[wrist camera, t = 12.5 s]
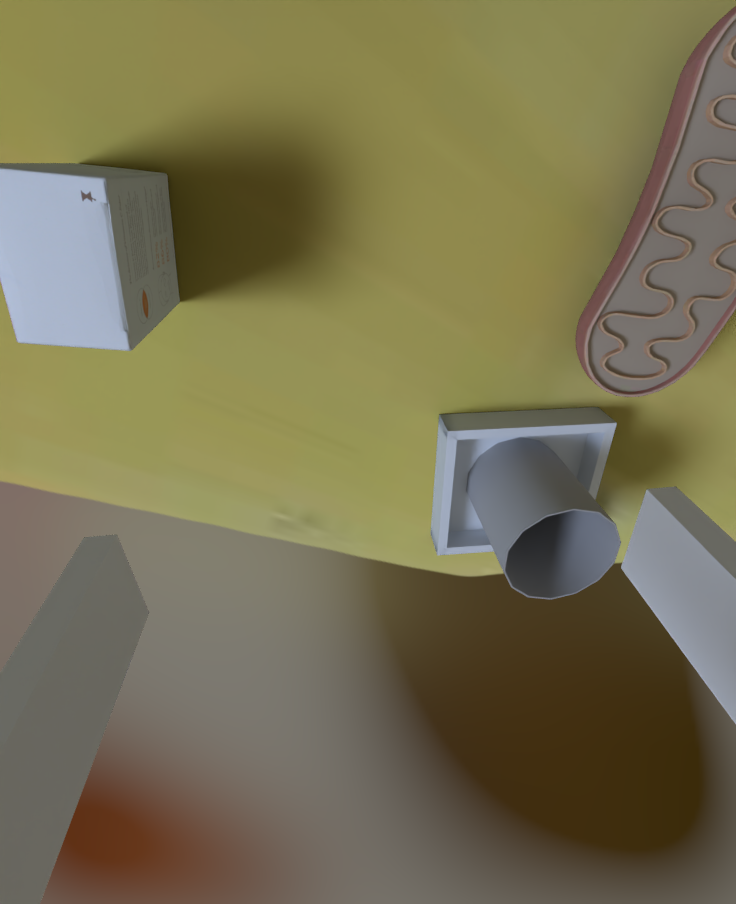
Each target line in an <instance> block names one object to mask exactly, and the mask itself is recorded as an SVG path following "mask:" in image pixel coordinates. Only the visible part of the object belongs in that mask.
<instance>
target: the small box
mask: <svg viewBox="0 0 736 904" xmlns="http://www.w3.org/2000/svg"><path fill="white" fill-rule="evenodd" d="M0 281H1V285H2V288H3V292H4V296H5V299H6V303H7V306H8V310H9V314H10V317H11V321H12V325H13V328H14V332H15V335H16V340H17V342H19V343H27V344H41V345H54V346H68V347H83V348H97V349H112V350H126V351H131V350H133V349H134V348H135V347H136V345H137V344H139V343H140V342H141V341H142V340H143V339H144V338H145V337H146V336H147V335H148V334H149V333H150V332H151V331H152V330H153V329H154V328H155V327H156V326H157V325H158V324H159V323H160V322H161V321H162V320H163V319H164V318H165V317H166V316H167V315H168V314H169V312H171V311H172V309H173V308H175V307H176V305H178V304H179V302H180V298H179V289H178V279H177V269H176V259H175V249H174V239H173V229H172V219H171V210H170V199H169V189H168V176H167V174H166V173H159V172H150V171H142V170H134V169H125V168H115V167H106V166H95V165H85V164H75V163H0Z"/></svg>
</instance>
